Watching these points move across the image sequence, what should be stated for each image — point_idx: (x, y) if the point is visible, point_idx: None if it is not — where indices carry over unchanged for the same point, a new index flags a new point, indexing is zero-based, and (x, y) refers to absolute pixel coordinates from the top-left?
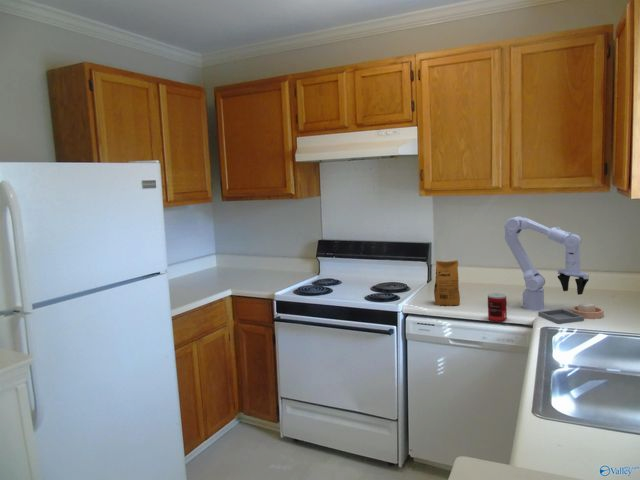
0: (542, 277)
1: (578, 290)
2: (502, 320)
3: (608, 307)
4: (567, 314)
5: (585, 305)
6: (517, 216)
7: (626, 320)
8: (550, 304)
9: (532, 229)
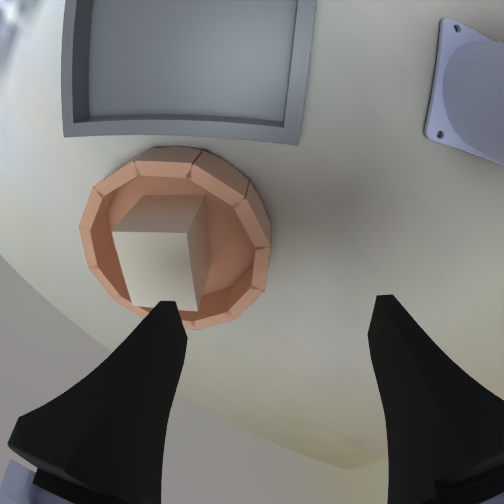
0: None
1: (133, 331)
2: None
3: (270, 388)
4: (221, 117)
5: (141, 254)
6: None
7: (81, 309)
8: (479, 249)
9: None
